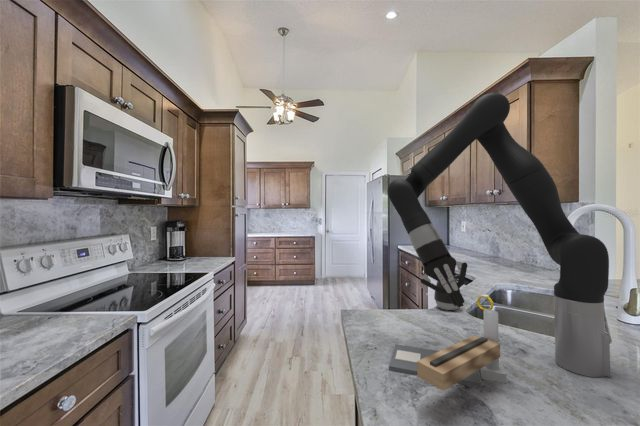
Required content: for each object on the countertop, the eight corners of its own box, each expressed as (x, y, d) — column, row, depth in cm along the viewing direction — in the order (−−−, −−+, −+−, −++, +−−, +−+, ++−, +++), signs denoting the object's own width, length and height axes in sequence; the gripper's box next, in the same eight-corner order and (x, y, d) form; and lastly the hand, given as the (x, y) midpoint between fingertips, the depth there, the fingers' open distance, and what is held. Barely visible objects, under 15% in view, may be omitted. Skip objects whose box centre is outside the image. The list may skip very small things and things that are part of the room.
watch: (494, 311, 112) (495, 297, 112) (490, 313, 111) (491, 298, 111) (479, 306, 117) (480, 292, 117) (475, 307, 116) (476, 293, 116)
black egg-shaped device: (465, 313, 110) (465, 274, 110) (437, 312, 111) (437, 273, 112) (457, 305, 120) (456, 269, 120) (431, 304, 121) (431, 269, 122)
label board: (497, 364, 72) (496, 305, 72) (511, 393, 59) (510, 322, 60) (395, 347, 81) (394, 295, 81) (389, 370, 69) (388, 308, 69)
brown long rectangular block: (474, 347, 68) (474, 332, 68) (500, 357, 63) (499, 340, 63) (417, 376, 55) (417, 358, 56) (443, 390, 51) (443, 370, 51)
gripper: (403, 251, 75) (435, 317, 68) (452, 231, 72) (490, 297, 65) (406, 255, 82) (435, 314, 75) (450, 236, 78) (485, 296, 72)
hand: (460, 306), depth 70 cm, fingers closed
